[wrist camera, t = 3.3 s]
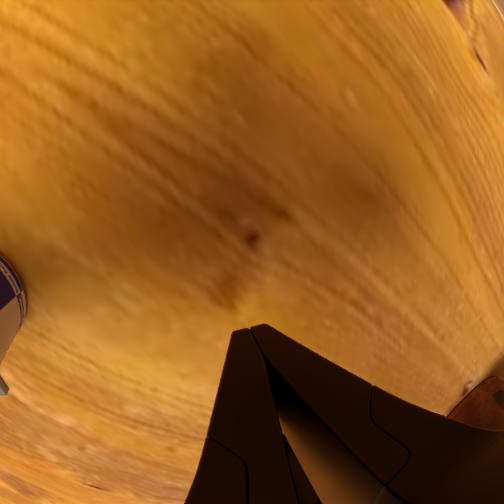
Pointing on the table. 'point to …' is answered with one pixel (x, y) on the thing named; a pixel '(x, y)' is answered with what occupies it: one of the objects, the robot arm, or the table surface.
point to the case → (483, 406)
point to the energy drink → (10, 306)
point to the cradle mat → (3, 388)
